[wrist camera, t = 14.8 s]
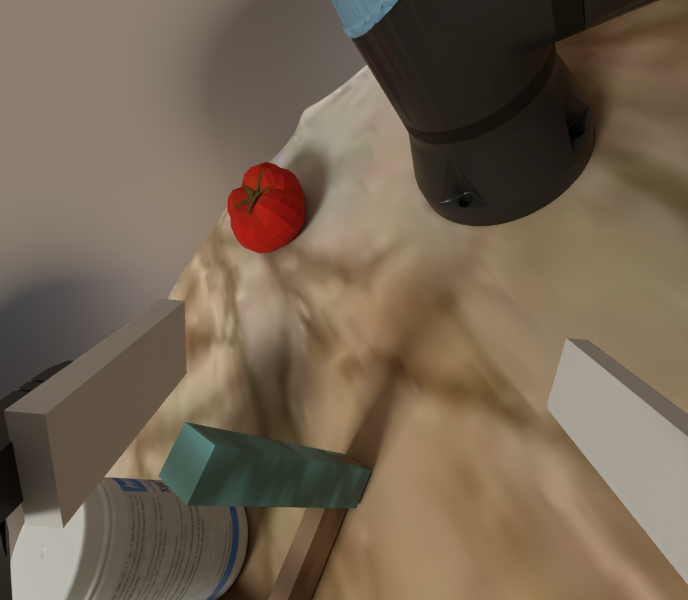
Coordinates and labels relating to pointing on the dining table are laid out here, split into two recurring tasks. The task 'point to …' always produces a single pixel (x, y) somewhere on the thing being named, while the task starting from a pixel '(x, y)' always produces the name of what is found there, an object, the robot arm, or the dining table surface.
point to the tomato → (266, 208)
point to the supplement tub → (132, 548)
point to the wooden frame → (270, 490)
